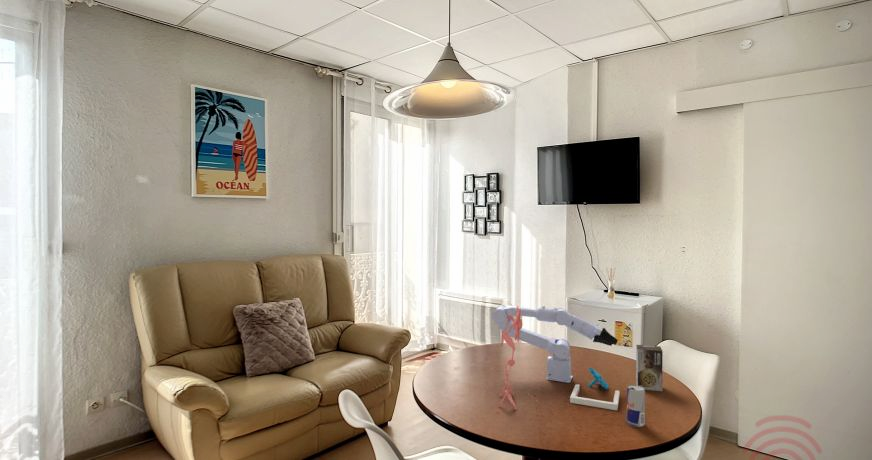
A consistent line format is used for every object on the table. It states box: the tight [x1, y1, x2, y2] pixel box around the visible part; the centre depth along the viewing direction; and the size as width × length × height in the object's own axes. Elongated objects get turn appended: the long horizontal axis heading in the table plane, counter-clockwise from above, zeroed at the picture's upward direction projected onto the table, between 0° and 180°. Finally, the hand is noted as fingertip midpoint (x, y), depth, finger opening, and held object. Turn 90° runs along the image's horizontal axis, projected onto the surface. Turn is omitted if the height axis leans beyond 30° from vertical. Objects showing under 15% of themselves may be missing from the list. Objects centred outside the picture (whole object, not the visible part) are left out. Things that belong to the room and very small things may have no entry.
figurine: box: [495, 305, 539, 414], centre depth 165 cm, size 15×26×35 cm, turn 171°
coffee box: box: [635, 344, 664, 392], centre depth 181 cm, size 9×6×16 cm
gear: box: [588, 367, 609, 390], centre depth 182 cm, size 11×6×10 cm
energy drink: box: [626, 384, 646, 428], centre depth 149 cm, size 5×5×12 cm
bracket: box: [569, 383, 621, 411], centre depth 169 cm, size 16×14×2 cm
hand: (614, 343), depth 184 cm, fingers open, 7 cm apart
